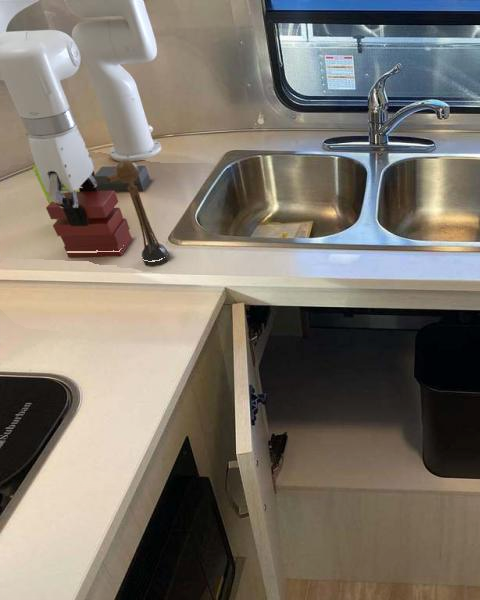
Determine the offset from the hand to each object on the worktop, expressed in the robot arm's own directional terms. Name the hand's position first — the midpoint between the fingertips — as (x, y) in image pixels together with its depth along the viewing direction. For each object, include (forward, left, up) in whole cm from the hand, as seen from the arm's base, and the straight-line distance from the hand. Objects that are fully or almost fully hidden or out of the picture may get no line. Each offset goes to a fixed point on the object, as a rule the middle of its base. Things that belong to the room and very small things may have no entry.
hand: (87, 215), depth 104 cm
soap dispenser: (-10, -9, -8) cm, 16 cm away
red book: (0, 0, +1) cm, 1 cm away
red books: (0, 0, -7) cm, 7 cm away
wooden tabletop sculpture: (+5, +12, -8) cm, 15 cm away
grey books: (-27, -5, -7) cm, 28 cm away
